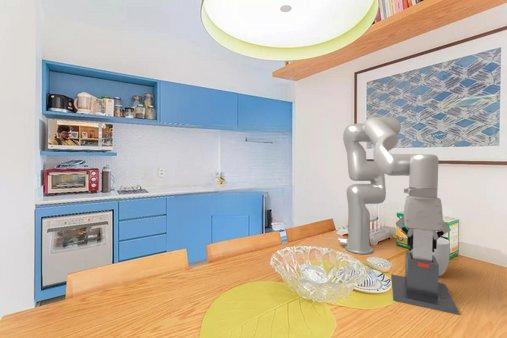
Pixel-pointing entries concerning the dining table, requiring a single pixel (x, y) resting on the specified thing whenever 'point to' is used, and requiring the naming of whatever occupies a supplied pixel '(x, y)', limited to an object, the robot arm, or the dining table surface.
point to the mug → (442, 254)
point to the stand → (422, 286)
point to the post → (422, 245)
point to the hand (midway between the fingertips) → (421, 248)
